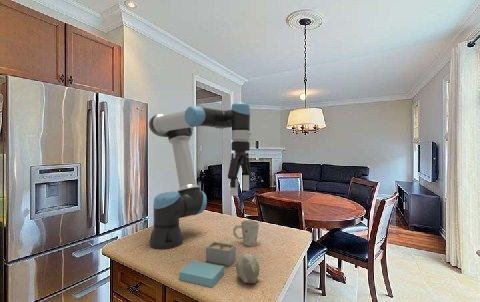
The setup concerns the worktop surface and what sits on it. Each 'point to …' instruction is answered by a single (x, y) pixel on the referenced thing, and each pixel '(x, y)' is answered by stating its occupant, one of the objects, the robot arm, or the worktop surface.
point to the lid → (201, 273)
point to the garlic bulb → (247, 268)
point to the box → (221, 253)
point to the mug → (248, 232)
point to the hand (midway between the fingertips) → (240, 192)
